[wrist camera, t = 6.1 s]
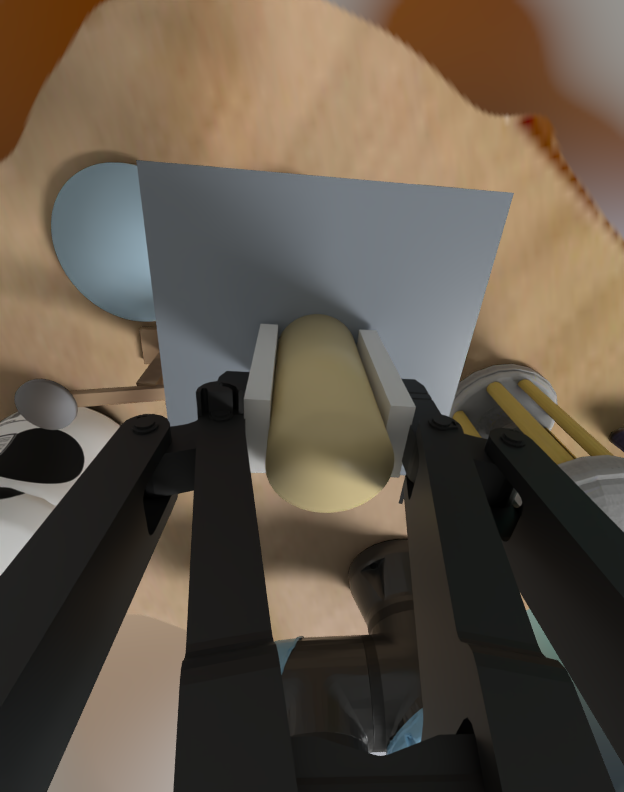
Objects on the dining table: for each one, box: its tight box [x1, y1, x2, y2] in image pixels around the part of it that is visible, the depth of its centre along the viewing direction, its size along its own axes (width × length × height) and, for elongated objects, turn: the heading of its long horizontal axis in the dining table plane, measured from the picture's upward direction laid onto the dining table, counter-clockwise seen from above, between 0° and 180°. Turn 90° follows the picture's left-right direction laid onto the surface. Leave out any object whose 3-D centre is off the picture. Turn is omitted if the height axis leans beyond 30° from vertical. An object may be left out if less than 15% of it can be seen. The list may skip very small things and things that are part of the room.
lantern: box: [449, 364, 624, 532], centre depth 38 cm, size 14×14×25 cm
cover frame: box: [136, 160, 514, 513], centre depth 18 cm, size 14×14×17 cm
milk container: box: [0, 407, 121, 576], centre depth 42 cm, size 17×17×18 cm
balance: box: [15, 327, 165, 430], centre depth 37 cm, size 18×4×13 cm, turn 86°
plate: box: [51, 163, 156, 322], centre depth 37 cm, size 14×14×1 cm
